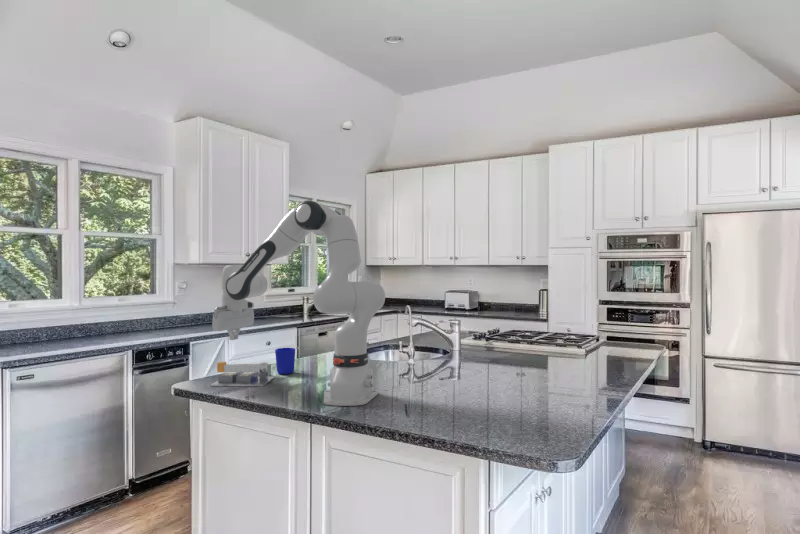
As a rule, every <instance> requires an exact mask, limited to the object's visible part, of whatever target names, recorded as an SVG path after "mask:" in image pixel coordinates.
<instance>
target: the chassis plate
mask: <svg viewBox="0 0 800 534" xmlns="http://www.w3.org/2000/svg"><path fill="white" fill-rule="evenodd" d="M268 373H269V371H268V372H263V373H262V372H223V373H222V374H220V375H218V377H217V381H215V382H213V383H211V384H210V387H264V386H266V384H268V383H270V382H271V381H272V380H273V379H275V376H271V375H270V376H269V375H268Z"/></svg>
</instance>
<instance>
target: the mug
mask: <svg viewBox="0 0 800 534" xmlns="http://www.w3.org/2000/svg"><path fill="white" fill-rule="evenodd" d="M274 351H275V352H274V353H275V362H276V372H277V373H278V375H289V374H293V373H294V371H295V364H296V363H295V361H296V348H294V347H279V348H276V349H275V350H274Z"/></svg>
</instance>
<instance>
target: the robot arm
mask: <svg viewBox="0 0 800 534" xmlns="http://www.w3.org/2000/svg"><path fill="white" fill-rule="evenodd" d="M310 233H312V234H315V235H317V236H320V237H325V238H326V244H327V252H328V271H327V273H326V275H325V277H324V279H323V281H322V282H321V283H320V284H319V285H318V286H316V288H315V290H314V291H313V296H312V301H313V305H314V307H315V309H316V310H317V311H318V312H319V313H321V314H328V315H341V314H342V315H343V314H344V315H345V314H349V316H348V318H347V320H346V321H345V322H344V323H343V324H341V325H340V326H338V327H337V329H335V332H334V353H333V358H332V361H333V363H332V364H333V366H332V367H331V368H330V369H329V370H330V371H329V372H330V382H328V383H327V386H328V387H329V389H325V390H324V392H323V405H327V406H336V407H337V406H338V407H339V406H340V407H342V406H343V407H344V406H345V407H347V406H349V407H351V406H353V407H354V406H364V405H366V404H368V403H369V402H371V401H372V400H373V399H374V398H375V397H376V396H377V395H378V394H379V390H378V389H374V376H373V374H374V373H373V372H374V371H373V368H371V367H370V366H369V364H368V363H369V356H368V355H369V354H368V351H367V349H368V348H367V347H368V346H367V345H368V344H367V343H368V342H367V340H368V339H367V338H368V331H369V330H368V329H369V326H370V324H371V321H372V319H373V318H374V316H375V315H376V313H378V311H379V310H381V309H382V308H383V306H384V305H385V300H386V291H385V289H384V287H383V286H382V285H381V284H380V283H377V282H373V281H360V280H359V281H349V275H350V274H352V273H354V272H355V271H356V270H357V269H358V268H359V267H360V265H361V261H362V260H361V253H360V246H359V239H358V238H359V237H358V233H357V230H356V227H355V225H354V221H353V219H352V218H351V217H350V216H347V215H345V214H341V213H340V212H338V211H336V210H333V209H332V208H330V207H329V206H327V205H325V204H322V203H319V202H316V201H313V200H303V201H302V202H300V203H299V204H298V205H297V206H295V207H293V208H291V210H290V211H289V212H288V213H286V214H285V216H284V217H283V218H282V219H281V220H280V221H279V223H278V224H277V225H276V227H275V228H274V229H273V231H272V232H271V233H270V235H269V236H268V237H267V238H266V239H265V240H264V241H263V242H262V243H261V244H260V245H259V246H258V247H257V248H256V249H255V251H253V253H252V254H251V255H250V257H249V258H248V259H247V260H246V261H245V262H244V263H243V264H241V263H235V264H229V265H225V267H223V268H222V269H223V270H222V273H221V290H222V293H221V294H222V295H221V306H217V307H216V308H215V309H214V311H213V315H212V322H211V323H212V325H211V326H212V327H211V329H212V330H213V331H214V332H222V331H227V334H228V336H229V340H230V341H234V340H238V339H239V334H240V332H241V328H244V327H250V326H253V325H254V323H255V312H254V309H253V308H254V305H255V304H254V302H253V301H249V300H247V299H251V298H256V297H260V296H261V295H264V294H265V293H266V291H267V289H268V280H267V278H266V276H265V275H264V274H263V273H261V271H262V270H263V269H264V268H265V267H266V266H267V265H268V264H269V263H270V262H273V261H274V260H277V259H278V258H283V257H285V256H290V255H291V254H293V252H295V251H296V250H297V249H298V248H299V247H300V246H301V244H302V242H303V241H304V240H305V238H306V237H307V235H309V234H310Z"/></svg>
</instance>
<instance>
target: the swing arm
mask: <svg viewBox="0 0 800 534" xmlns="http://www.w3.org/2000/svg"><path fill="white" fill-rule="evenodd" d="M268 365H269V364H268V362H259V363H227V361H218V362H217V363H216V370H217V372H216V373H226V372H240V373H243V372H258V373H260V372H262V373H263V372H268V373H269V366H268Z"/></svg>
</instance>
